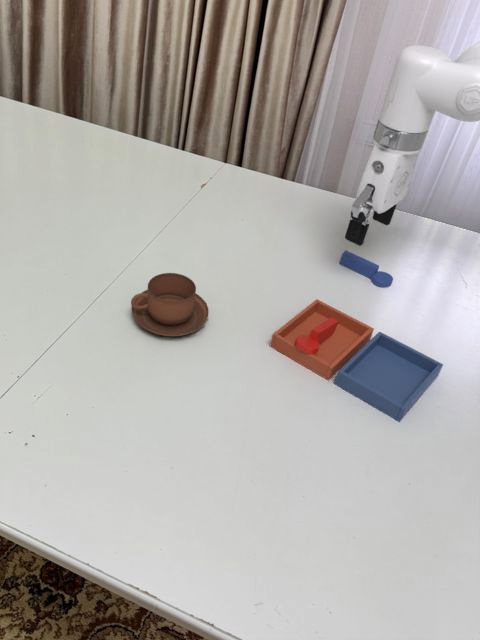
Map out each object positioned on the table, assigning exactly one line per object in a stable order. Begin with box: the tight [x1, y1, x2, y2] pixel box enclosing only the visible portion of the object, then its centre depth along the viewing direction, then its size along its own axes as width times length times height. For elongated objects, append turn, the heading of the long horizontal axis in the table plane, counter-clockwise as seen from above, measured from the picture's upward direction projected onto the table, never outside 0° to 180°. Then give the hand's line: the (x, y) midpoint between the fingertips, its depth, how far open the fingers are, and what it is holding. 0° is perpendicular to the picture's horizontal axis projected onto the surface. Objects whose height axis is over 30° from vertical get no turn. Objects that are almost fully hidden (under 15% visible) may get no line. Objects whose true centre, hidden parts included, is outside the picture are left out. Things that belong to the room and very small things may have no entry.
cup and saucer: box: [130, 272, 210, 337], centre depth 96 cm, size 12×12×6 cm
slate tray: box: [333, 331, 444, 422], centre depth 90 cm, size 10×13×2 cm
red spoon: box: [294, 317, 339, 354], centre depth 93 cm, size 10×4×2 cm, turn 140°
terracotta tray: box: [269, 298, 375, 381], centre depth 95 cm, size 10×13×2 cm
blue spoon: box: [339, 250, 394, 289], centre depth 110 cm, size 10×4×2 cm, turn 49°
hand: (367, 231), depth 107 cm, fingers open, 9 cm apart
